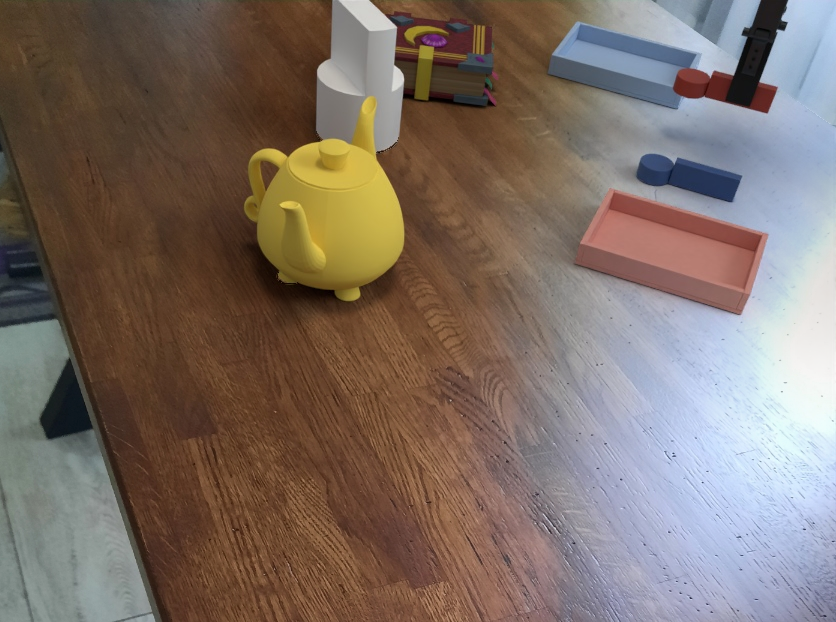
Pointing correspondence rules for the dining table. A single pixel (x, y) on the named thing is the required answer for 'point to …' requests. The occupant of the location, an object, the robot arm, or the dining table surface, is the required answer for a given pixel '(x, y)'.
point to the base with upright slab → (359, 74)
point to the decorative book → (444, 58)
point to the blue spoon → (688, 176)
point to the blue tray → (622, 63)
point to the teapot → (328, 212)
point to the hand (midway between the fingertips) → (739, 98)
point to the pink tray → (673, 250)
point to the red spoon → (719, 88)
